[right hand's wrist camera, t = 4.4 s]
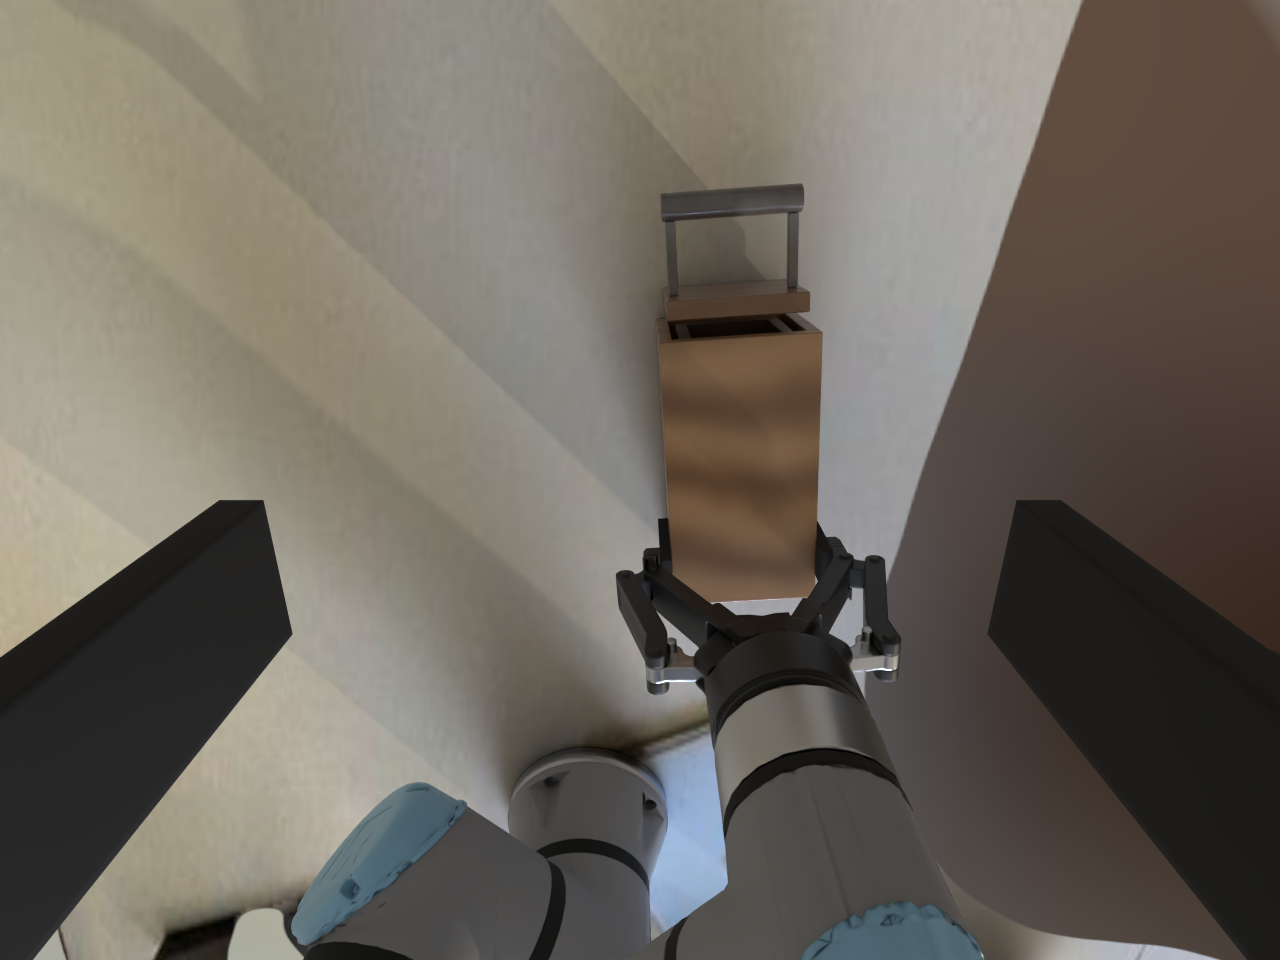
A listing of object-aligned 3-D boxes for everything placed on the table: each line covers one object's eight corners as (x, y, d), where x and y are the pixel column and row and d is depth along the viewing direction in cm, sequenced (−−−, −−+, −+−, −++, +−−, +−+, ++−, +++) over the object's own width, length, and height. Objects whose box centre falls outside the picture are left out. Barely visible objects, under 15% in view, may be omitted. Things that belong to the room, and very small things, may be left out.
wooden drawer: (657, 194, 47) (660, 193, 40) (788, 184, 47) (812, 182, 40) (674, 513, 56) (679, 556, 49) (784, 506, 56) (804, 548, 49)
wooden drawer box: (655, 318, 51) (658, 342, 43) (792, 309, 51) (823, 331, 43) (668, 546, 58) (673, 605, 50) (789, 539, 58) (815, 597, 49)
